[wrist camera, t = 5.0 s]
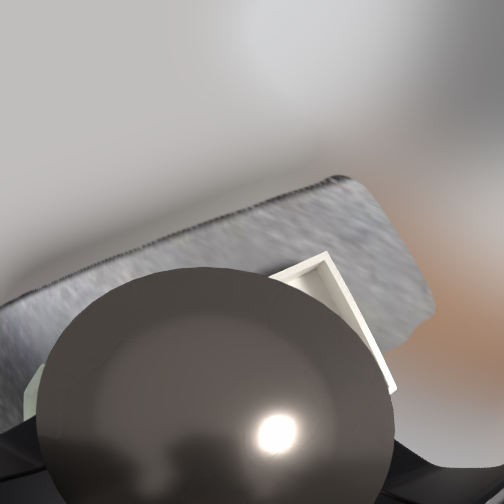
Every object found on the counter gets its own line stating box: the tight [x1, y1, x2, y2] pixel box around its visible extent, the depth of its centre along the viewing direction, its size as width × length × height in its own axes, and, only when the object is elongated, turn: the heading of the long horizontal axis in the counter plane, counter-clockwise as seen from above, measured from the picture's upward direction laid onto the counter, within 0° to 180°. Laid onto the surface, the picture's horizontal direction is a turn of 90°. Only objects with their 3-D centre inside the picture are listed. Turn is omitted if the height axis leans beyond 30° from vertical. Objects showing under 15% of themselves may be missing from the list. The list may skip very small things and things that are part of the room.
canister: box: [36, 267, 395, 504], centre depth 8 cm, size 5×5×12 cm
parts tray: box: [269, 251, 397, 394], centre depth 20 cm, size 13×13×3 cm
